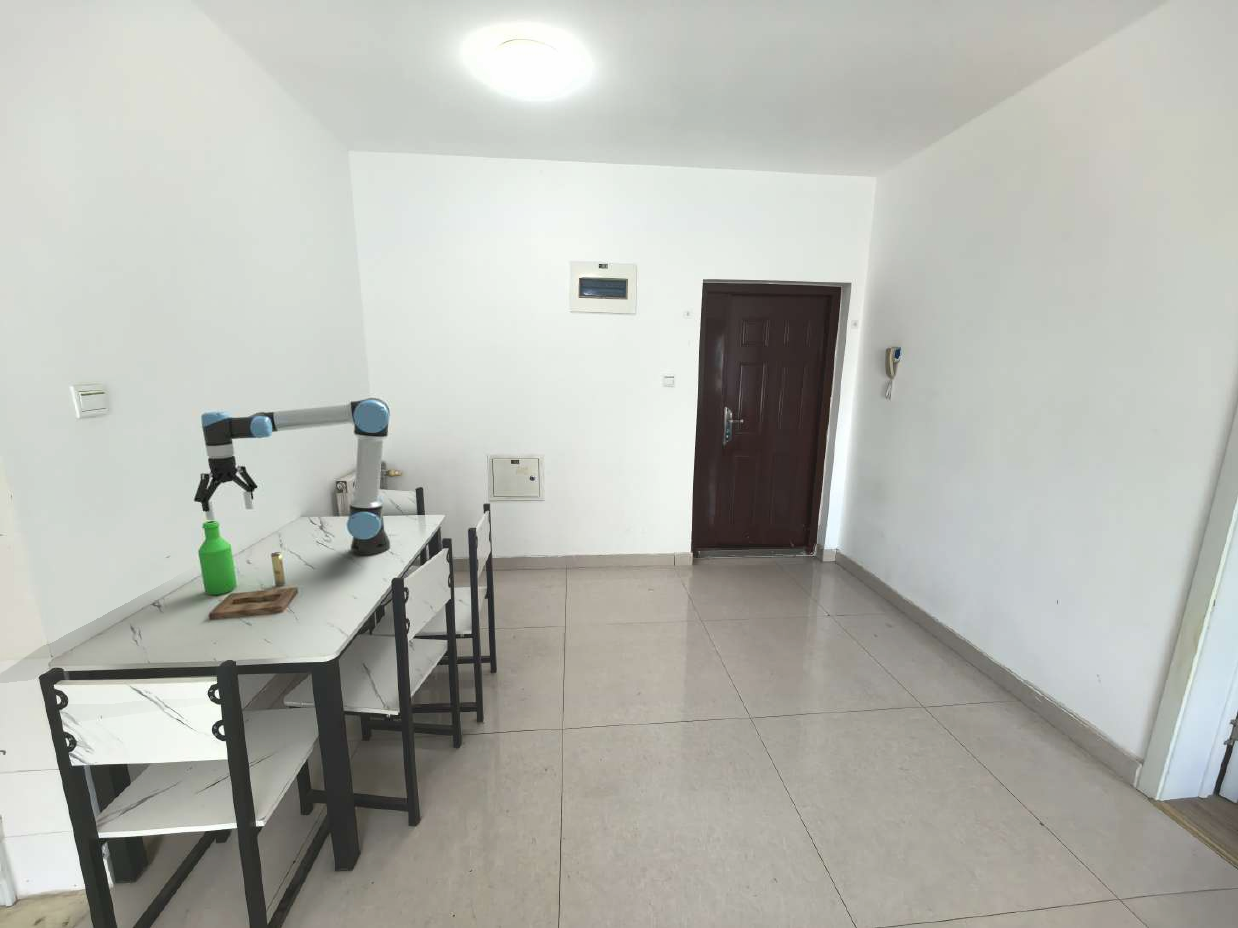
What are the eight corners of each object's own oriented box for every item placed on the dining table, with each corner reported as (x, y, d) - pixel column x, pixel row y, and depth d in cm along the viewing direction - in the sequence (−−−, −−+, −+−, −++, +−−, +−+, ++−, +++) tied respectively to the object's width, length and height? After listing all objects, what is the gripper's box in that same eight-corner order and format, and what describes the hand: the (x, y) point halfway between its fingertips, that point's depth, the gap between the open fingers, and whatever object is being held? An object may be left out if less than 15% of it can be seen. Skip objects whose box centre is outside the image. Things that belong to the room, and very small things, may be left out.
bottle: (202, 598, 170) (190, 527, 164) (208, 587, 177) (197, 520, 172) (234, 593, 174) (223, 524, 168) (239, 583, 181) (229, 516, 176)
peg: (286, 582, 182) (282, 551, 179) (283, 586, 179) (279, 554, 176) (277, 583, 181) (272, 552, 178) (274, 587, 178) (269, 555, 176)
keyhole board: (297, 592, 174) (297, 587, 174) (282, 611, 161) (282, 606, 161) (230, 598, 169) (229, 593, 169) (209, 619, 156) (208, 613, 156)
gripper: (248, 449, 190) (257, 503, 194) (173, 462, 166) (185, 523, 171) (263, 450, 187) (271, 505, 192) (189, 464, 164) (200, 525, 169)
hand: (230, 514), depth 181 cm, fingers open, 13 cm apart
